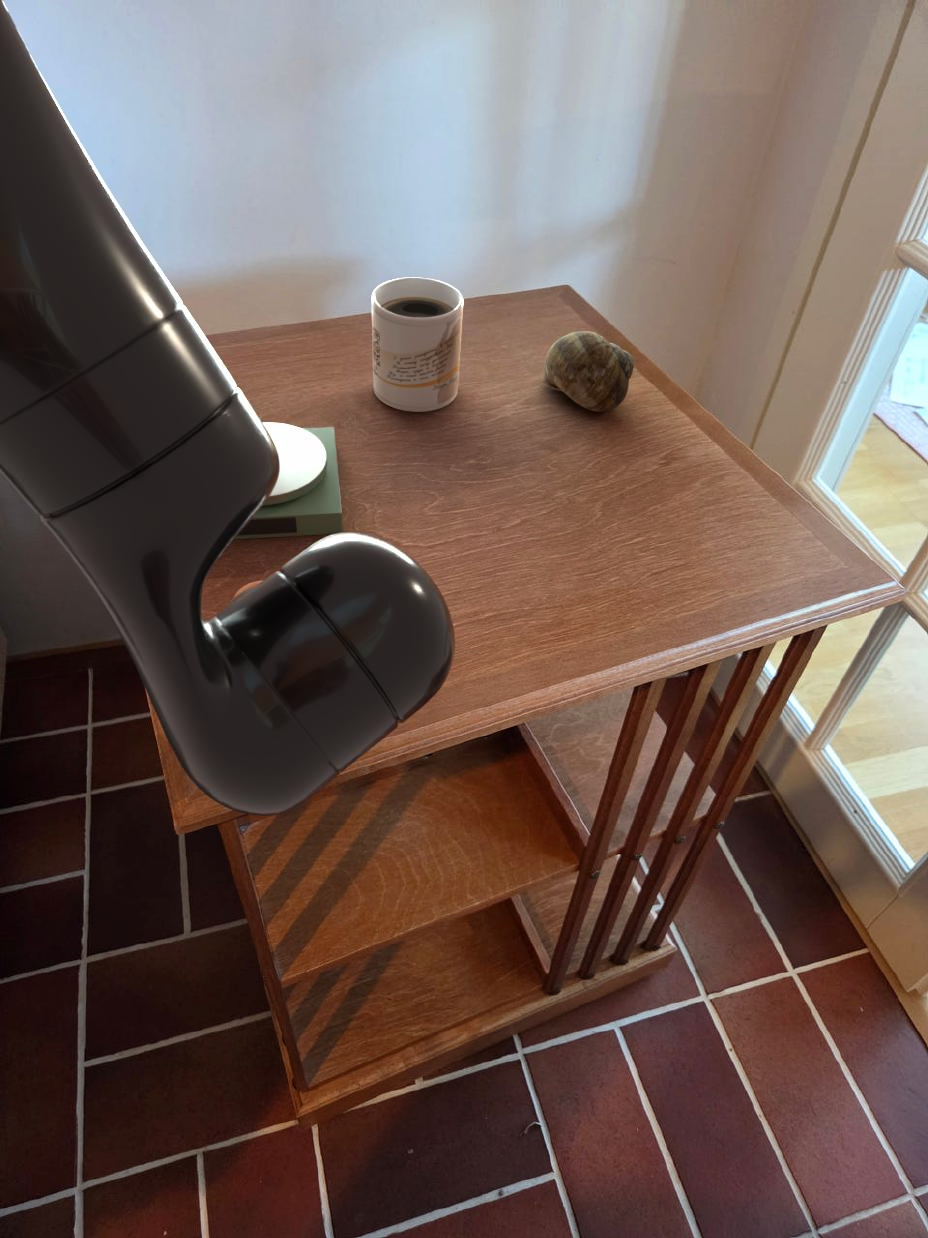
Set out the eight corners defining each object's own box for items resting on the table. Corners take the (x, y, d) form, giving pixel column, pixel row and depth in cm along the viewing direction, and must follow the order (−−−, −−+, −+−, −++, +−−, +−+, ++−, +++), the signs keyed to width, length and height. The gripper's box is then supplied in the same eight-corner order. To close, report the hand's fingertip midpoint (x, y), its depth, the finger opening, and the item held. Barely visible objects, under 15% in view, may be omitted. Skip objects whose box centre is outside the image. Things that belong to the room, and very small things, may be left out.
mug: (353, 398, 94) (349, 304, 86) (396, 350, 102) (396, 260, 94) (439, 420, 92) (443, 326, 84) (476, 370, 100) (483, 280, 92)
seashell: (638, 419, 95) (654, 355, 89) (562, 428, 93) (573, 363, 87) (599, 369, 102) (611, 306, 96) (528, 376, 100) (536, 313, 94)
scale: (188, 542, 76) (180, 508, 73) (198, 452, 85) (191, 418, 82) (343, 534, 78) (341, 500, 75) (335, 447, 88) (333, 414, 85)
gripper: (395, 559, 47) (352, 573, 63) (127, 608, 43) (155, 609, 59) (421, 689, 47) (371, 669, 63) (157, 749, 43) (176, 712, 60)
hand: (267, 640), depth 61 cm, fingers closed on pill bottle, 6 cm apart
